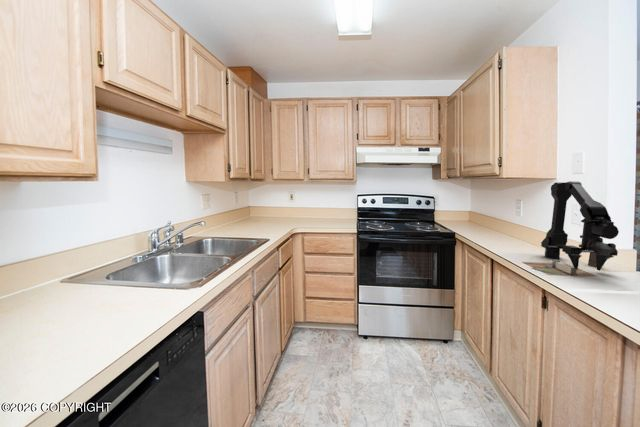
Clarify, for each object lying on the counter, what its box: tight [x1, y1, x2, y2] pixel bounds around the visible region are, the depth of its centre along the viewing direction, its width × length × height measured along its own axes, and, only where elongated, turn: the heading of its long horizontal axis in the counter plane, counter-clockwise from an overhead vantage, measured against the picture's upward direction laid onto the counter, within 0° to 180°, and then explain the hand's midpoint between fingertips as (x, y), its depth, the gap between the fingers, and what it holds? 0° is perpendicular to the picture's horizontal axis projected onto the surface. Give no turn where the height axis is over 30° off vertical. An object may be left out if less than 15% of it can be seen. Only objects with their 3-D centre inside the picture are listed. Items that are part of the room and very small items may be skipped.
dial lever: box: [551, 259, 577, 275], centre depth 135 cm, size 13×3×3 cm, turn 176°
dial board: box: [521, 261, 599, 278], centre depth 139 cm, size 20×21×1 cm
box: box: [587, 252, 597, 268], centre depth 145 cm, size 6×4×12 cm
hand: (587, 269), depth 133 cm, fingers open, 9 cm apart
